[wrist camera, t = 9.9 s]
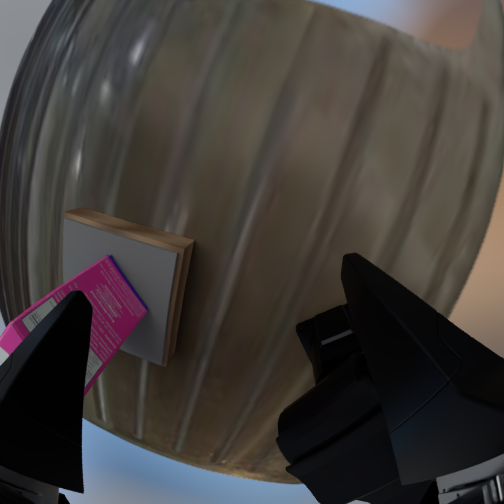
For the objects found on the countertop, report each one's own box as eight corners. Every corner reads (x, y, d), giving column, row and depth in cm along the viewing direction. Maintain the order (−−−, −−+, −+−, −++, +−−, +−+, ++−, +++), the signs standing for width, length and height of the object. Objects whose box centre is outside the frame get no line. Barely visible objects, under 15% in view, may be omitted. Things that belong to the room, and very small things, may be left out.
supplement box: (112, 334, 22) (43, 416, 11) (75, 282, 21) (-12, 345, 10) (153, 311, 21) (77, 409, 10) (111, 250, 20) (5, 317, 9)
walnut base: (194, 240, 22) (182, 250, 19) (174, 351, 26) (165, 370, 23) (81, 207, 22) (61, 212, 19) (79, 312, 26) (64, 325, 23)
